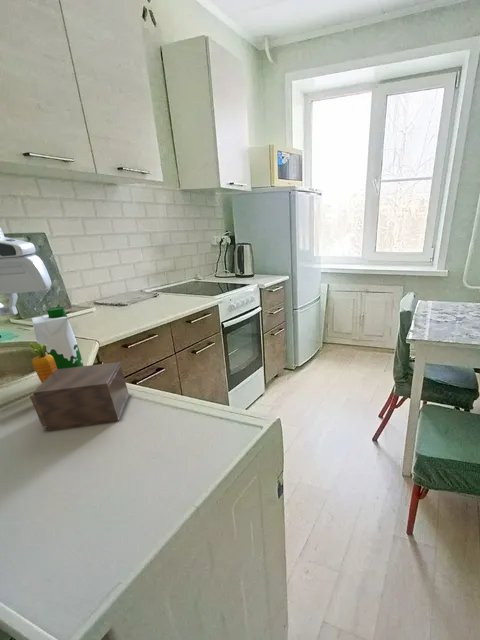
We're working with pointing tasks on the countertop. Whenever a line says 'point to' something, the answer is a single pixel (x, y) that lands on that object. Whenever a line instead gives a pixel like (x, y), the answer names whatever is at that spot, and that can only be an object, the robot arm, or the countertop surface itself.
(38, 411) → the drawer
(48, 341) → the milk carton
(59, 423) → the cabinet
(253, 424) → the countertop surface
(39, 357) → the carrot
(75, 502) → the countertop surface
